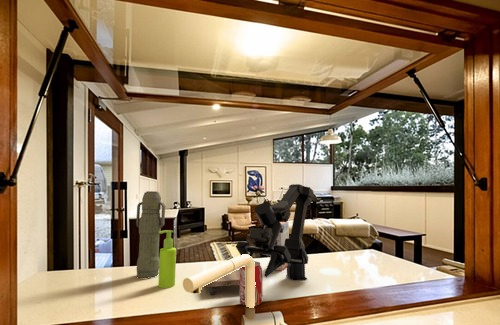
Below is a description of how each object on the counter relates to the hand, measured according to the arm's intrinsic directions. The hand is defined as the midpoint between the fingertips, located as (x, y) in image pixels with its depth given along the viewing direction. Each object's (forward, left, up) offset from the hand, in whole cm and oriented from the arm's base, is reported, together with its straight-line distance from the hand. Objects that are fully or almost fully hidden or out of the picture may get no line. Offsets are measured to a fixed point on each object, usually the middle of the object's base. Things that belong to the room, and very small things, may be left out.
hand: (252, 274), depth 85 cm
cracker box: (-26, -39, -9) cm, 48 cm away
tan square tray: (+5, -16, -8) cm, 19 cm away
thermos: (+33, -41, -9) cm, 54 cm away
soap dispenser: (+26, -25, -9) cm, 37 cm away
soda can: (+1, +1, -9) cm, 9 cm away
